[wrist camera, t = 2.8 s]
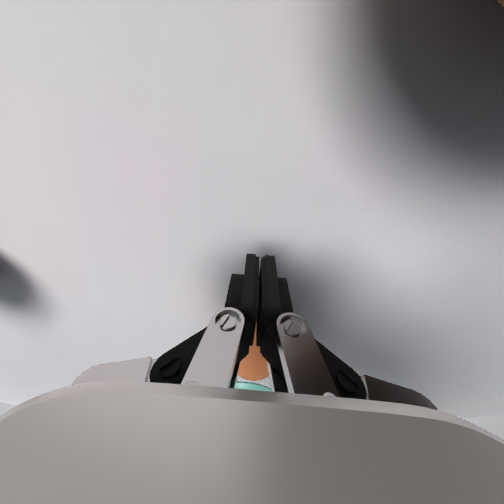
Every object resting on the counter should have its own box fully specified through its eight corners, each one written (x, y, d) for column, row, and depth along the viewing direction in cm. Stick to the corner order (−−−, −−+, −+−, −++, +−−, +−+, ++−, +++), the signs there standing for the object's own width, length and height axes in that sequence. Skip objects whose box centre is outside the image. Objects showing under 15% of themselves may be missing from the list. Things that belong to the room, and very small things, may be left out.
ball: (284, 306, 18) (291, 362, 14) (276, 339, 21) (279, 395, 16) (230, 300, 18) (218, 354, 14) (229, 334, 21) (219, 389, 16)
